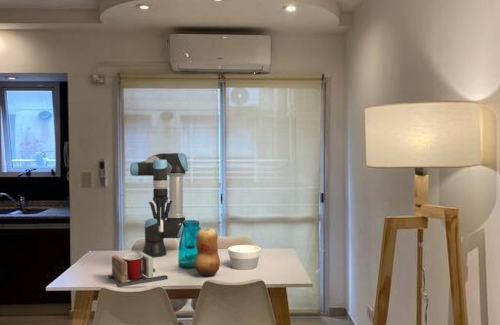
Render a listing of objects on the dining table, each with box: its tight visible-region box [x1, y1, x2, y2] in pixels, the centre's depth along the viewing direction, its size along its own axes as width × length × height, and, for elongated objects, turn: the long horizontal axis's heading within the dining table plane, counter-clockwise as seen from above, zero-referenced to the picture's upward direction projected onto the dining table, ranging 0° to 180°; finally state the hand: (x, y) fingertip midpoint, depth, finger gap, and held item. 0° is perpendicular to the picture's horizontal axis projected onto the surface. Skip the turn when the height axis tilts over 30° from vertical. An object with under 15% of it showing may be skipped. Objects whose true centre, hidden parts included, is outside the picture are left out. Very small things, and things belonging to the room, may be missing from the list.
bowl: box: [227, 244, 262, 271], centre depth 268 cm, size 19×19×11 cm
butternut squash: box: [193, 227, 221, 277], centre depth 250 cm, size 14×13×25 cm
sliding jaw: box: [137, 251, 154, 278], centre depth 247 cm, size 3×16×10 cm, turn 33°
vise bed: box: [107, 255, 169, 288], centre depth 245 cm, size 25×19×12 cm
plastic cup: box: [121, 253, 143, 281], centre depth 244 cm, size 11×11×12 cm
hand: (160, 231), depth 254 cm, fingers closed
